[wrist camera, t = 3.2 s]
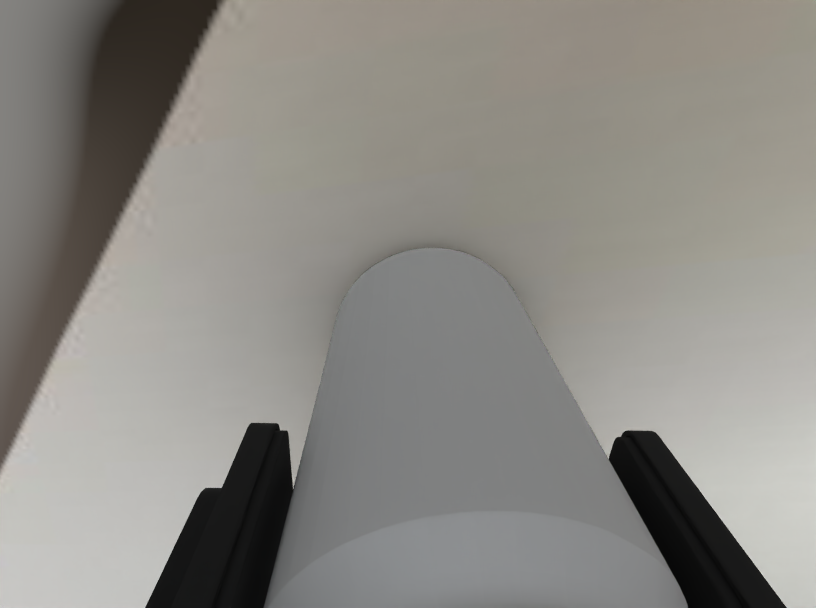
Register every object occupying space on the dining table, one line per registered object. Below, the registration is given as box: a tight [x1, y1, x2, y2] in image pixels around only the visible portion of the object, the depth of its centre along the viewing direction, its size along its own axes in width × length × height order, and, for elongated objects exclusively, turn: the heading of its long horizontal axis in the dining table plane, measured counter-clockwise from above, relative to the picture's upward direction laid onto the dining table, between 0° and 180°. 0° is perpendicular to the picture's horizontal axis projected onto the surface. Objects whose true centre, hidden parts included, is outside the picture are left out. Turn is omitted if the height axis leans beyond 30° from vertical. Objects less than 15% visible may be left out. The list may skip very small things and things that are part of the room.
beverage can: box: [264, 248, 688, 608], centre depth 11 cm, size 6×6×12 cm
